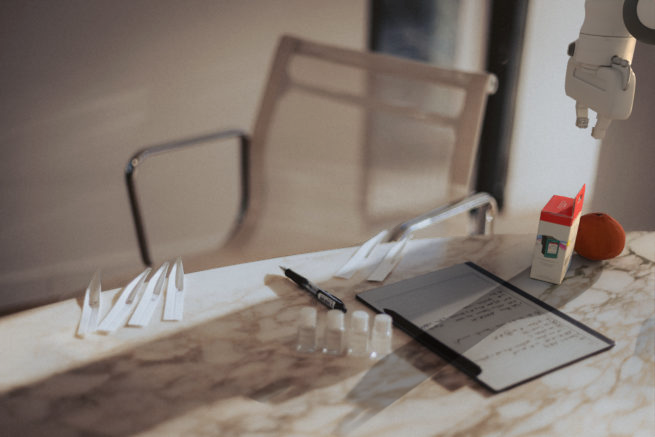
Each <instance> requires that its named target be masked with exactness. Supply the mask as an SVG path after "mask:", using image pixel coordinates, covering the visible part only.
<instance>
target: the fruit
mask: <svg viewBox="0 0 655 437" xmlns="http://www.w3.org/2000/svg"><path fill="white" fill-rule="evenodd" d="M626 237H627V235H626V233H625V230H624V228H623V226H622V225H621V224H620V223H619V222H618V221H617V220H616V219H615V218H613V217H612V216H611V215H610V214H607V213H606V212H598V211H597V212H596V211H595V212H588V213H584V214H581V216H580V220H579V225H578V230H577V235H576V240H575V245H574V250H573V252H575V253H576V254H578V255H579V256H580V257H583V258H585V259H587V260H591V261H607V260H612V259H614V258H616V257H618V256H620V255H621V254H622V253H623V251H624V249H625V247H626V240H627V239H626Z"/></svg>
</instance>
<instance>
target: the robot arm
mask: <svg viewBox="0 0 655 437" xmlns="http://www.w3.org/2000/svg"><path fill="white" fill-rule="evenodd" d="M637 41H638V42H640V43H643V44H645V45H650V46H655V0H584V20H583V22H582V25H581V26H580V29H579V33H578V38H576V40H574V41H572V42H569V44H568V45H567V49H566V55H567V56H568V57H569V58H568V60H567V64H566V69H565V77H564V92H565V95H566V96H567V97H569V98H570V99H572V100H574V101H575V114H576V115H575V116H576V119H575V127H577V128H578V129H580V130H581V129H585V130H586V129H587V128H588V127H589V123H590V118H589V109H590V110H592V111H593V112H595V113H596V117H595V119H596V122H595V124H594V126H591V133H590V137H591V138H592V139H594V140H604V139H605V137H606V132H607V129H608V128H609V126H610V125H611V123H612V121H613V120H617V121H618V120H619V121H621V120H622V121H623V120H628V118H630V116H631V114H632V111H633V105H634V98H635V92H636V91H635V90H636V75H635V73H634V71H633V69H632V66H631V65H632V63H633V59H634V58H633V57H634V53H635V48H636V43H637Z"/></svg>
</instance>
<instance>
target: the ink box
mask: <svg viewBox="0 0 655 437" xmlns="http://www.w3.org/2000/svg"><path fill="white" fill-rule="evenodd" d="M586 187H587V186H586V183H583V184H582V186H581V188H580V189H579V191H578V192H577V193H576V195H575V197H574V198H573V197H568V196H564V195H558V194H553V195H552V196H551V198H550V199H549V200H548V201H547V203H546V204H545V205H544V207H543V208H542V209H541V210H540V214H539V219H538V220H539V221H538V228H537V234H536V239H535V244H534V251H533V257H532V261H531V262H532V263H531V267H530V274H529V278H531V279H534V280H539V281H542V282H547V283H551V284H553V285H561V284H562V282H563V280H564V277H565V276H566V273H567V272H568V270H569V269H570V266H571V264H572V259H573V254H574V245H575V240H576V235H577V230H578V225H579V220H580V216H582V211H583V205H584V200H585V195H586V194H585V193H586Z"/></svg>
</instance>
